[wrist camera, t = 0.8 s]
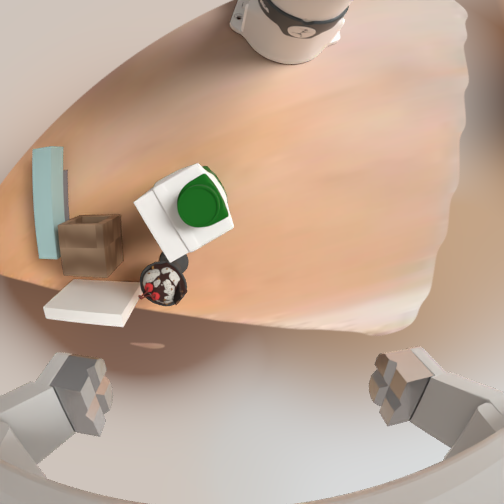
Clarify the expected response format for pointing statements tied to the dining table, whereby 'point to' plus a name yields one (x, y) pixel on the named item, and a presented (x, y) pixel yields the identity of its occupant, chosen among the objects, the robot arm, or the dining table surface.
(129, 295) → the wall
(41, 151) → the peg
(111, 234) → the block
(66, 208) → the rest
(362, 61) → the dining table surface
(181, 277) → the sundae
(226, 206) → the milk carton
